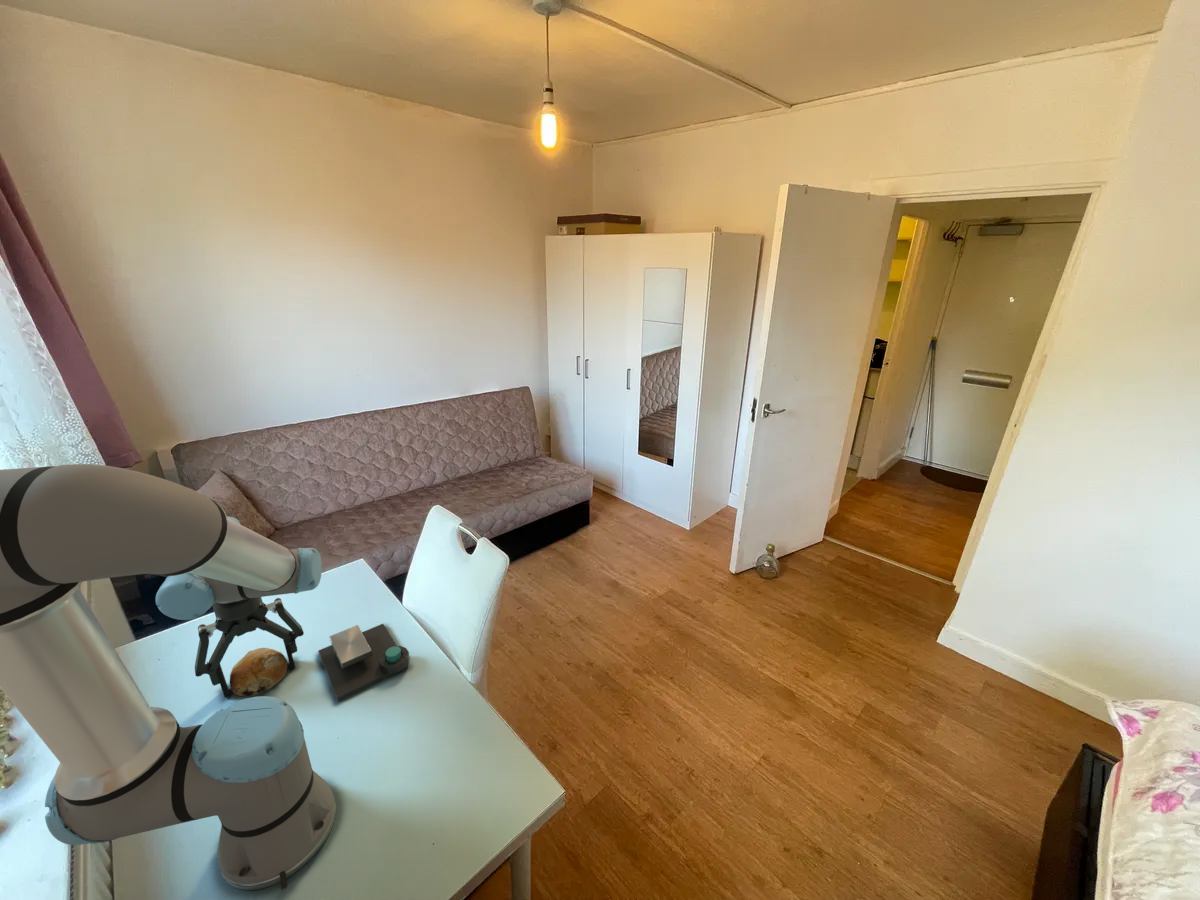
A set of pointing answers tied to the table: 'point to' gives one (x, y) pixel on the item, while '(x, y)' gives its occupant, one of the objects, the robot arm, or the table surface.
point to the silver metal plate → (350, 646)
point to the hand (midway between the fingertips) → (260, 678)
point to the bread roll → (257, 672)
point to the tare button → (393, 654)
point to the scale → (363, 664)
